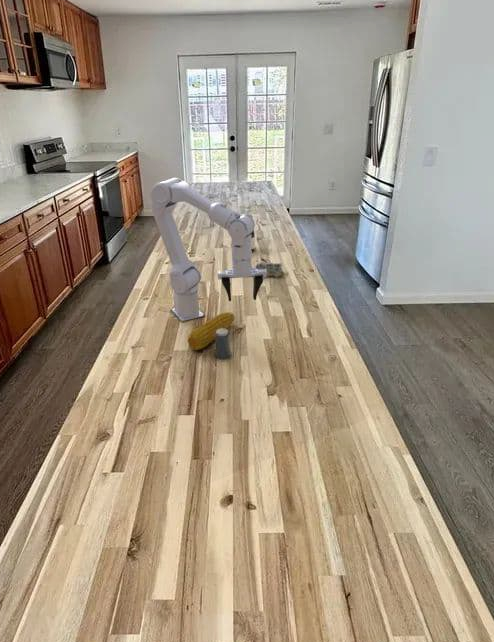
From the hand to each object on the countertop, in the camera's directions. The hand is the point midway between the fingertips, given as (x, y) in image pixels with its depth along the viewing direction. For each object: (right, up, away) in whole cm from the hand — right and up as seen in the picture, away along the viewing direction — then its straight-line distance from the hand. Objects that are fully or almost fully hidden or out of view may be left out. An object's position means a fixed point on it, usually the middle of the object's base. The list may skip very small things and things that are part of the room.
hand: (242, 299), depth 134 cm
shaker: (-6, -16, -11) cm, 20 cm away
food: (-9, -12, -2) cm, 15 cm away
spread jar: (+2, +24, +71) cm, 75 cm away
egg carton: (+12, +10, +43) cm, 46 cm away
